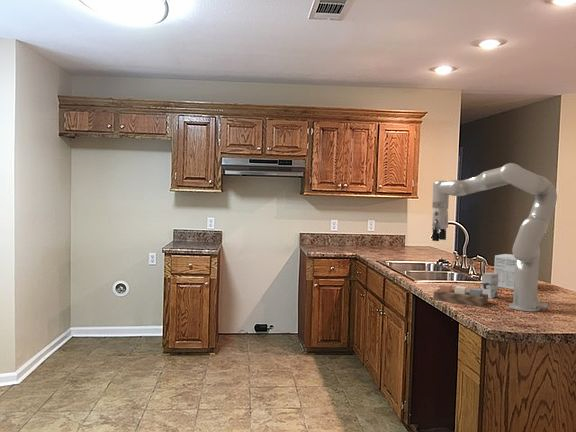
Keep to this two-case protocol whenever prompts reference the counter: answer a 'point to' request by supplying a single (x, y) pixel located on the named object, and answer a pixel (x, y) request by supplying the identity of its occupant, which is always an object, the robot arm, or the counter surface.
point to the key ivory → (460, 290)
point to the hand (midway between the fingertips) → (439, 240)
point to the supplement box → (505, 270)
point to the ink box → (490, 284)
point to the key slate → (476, 292)
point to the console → (460, 298)
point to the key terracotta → (446, 288)
